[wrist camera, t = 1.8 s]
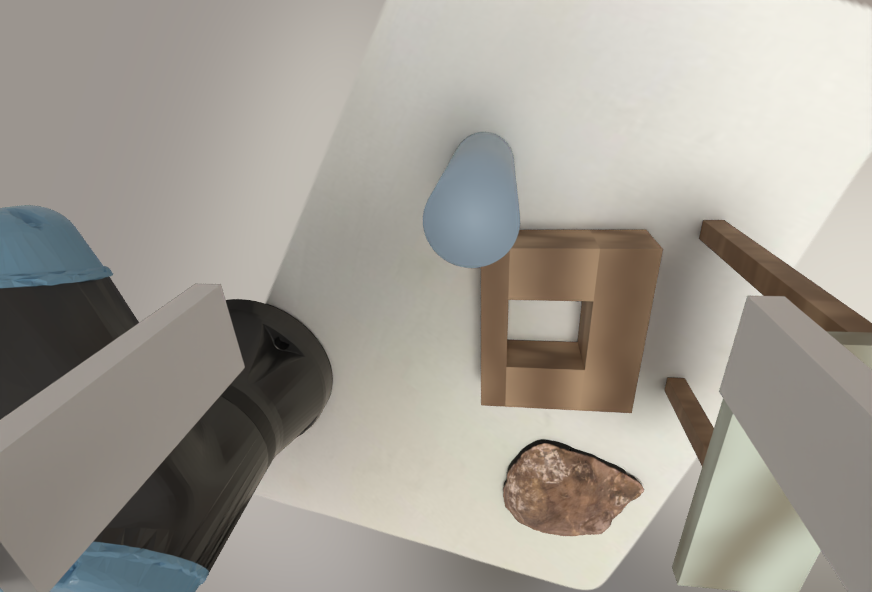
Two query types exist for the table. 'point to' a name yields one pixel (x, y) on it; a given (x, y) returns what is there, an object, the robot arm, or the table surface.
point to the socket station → (618, 375)
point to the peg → (475, 204)
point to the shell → (566, 490)
